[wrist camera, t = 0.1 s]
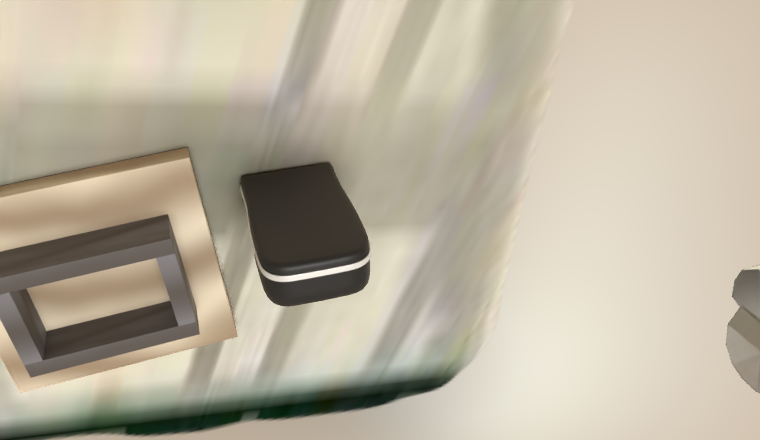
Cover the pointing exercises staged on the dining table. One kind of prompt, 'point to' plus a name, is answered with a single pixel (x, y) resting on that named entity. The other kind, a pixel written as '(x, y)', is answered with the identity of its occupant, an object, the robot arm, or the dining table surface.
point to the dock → (107, 270)
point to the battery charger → (305, 235)
